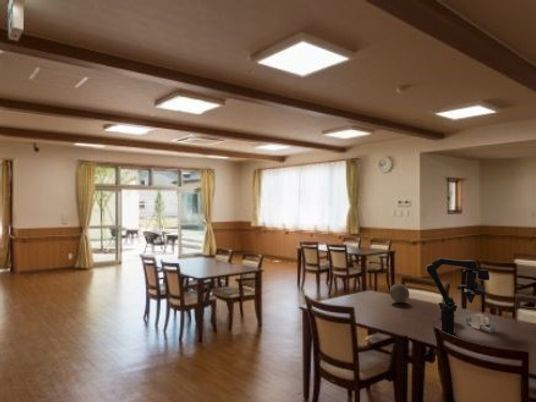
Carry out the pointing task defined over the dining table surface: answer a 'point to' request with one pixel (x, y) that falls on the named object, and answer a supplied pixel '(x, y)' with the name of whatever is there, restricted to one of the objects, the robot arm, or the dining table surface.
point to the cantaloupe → (399, 293)
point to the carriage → (478, 320)
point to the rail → (491, 329)
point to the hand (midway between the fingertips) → (470, 303)
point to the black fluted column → (448, 318)
